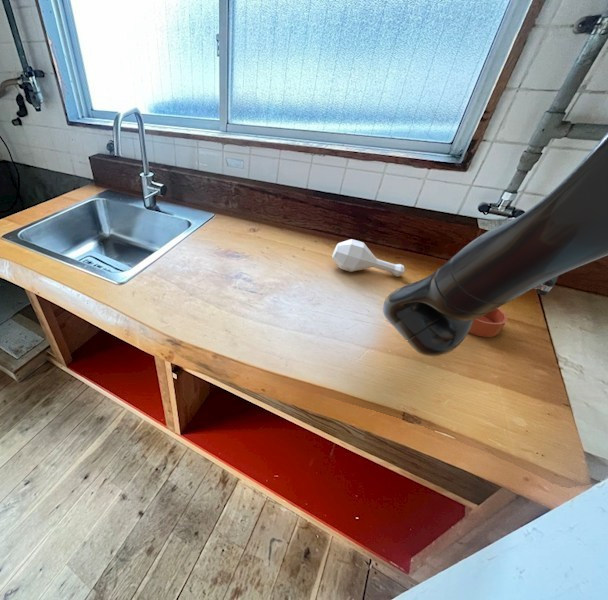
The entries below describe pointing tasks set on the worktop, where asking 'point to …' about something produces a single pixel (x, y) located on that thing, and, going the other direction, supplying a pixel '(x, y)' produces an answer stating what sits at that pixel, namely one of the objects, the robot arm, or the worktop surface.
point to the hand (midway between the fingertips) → (526, 254)
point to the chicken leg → (361, 258)
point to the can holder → (489, 324)
